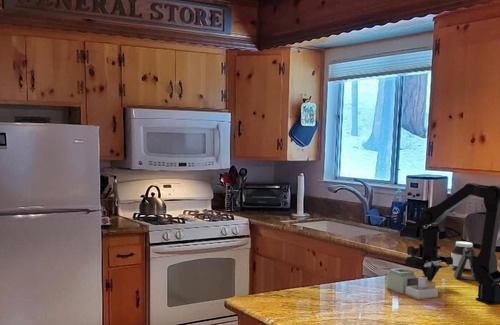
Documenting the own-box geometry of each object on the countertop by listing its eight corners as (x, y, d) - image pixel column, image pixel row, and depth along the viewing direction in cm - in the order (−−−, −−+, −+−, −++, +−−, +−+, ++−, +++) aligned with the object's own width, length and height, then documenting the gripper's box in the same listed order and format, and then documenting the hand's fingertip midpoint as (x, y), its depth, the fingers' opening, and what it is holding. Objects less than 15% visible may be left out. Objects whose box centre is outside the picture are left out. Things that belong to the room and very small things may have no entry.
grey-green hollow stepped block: (420, 291, 181) (421, 272, 181) (402, 293, 177) (403, 273, 177) (404, 285, 188) (405, 267, 188) (386, 287, 184) (387, 268, 184)
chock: (435, 290, 184) (435, 282, 184) (424, 292, 181) (424, 284, 181) (423, 287, 188) (424, 279, 188) (413, 289, 185) (413, 281, 185)
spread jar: (461, 272, 214) (462, 244, 214) (441, 266, 224) (442, 240, 224) (482, 270, 219) (483, 243, 219) (461, 264, 229) (462, 239, 229)
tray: (437, 297, 174) (438, 288, 174) (418, 299, 171) (418, 290, 170) (424, 292, 180) (425, 284, 180) (405, 294, 176) (405, 286, 176)
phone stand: (455, 279, 201) (457, 249, 201) (453, 275, 207) (455, 246, 207) (480, 281, 199) (481, 251, 199) (477, 277, 205) (478, 248, 204)
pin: (427, 295, 174) (429, 278, 174) (420, 295, 173) (421, 278, 173) (422, 292, 177) (423, 275, 177) (415, 292, 176) (416, 276, 176)
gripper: (432, 237, 199) (430, 276, 199) (395, 239, 191) (394, 280, 191) (455, 242, 189) (453, 283, 189) (417, 245, 181) (415, 288, 181)
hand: (428, 283), depth 188 cm, fingers closed
